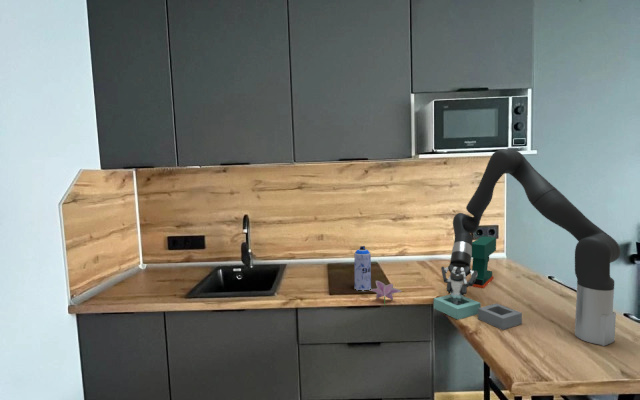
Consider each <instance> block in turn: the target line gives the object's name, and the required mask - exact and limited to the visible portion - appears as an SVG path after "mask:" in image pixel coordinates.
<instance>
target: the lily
mask: <svg viewBox="0 0 640 400" xmlns="http://www.w3.org/2000/svg"><path fill="white" fill-rule="evenodd" d="M375 284H376V288H371V290H369V291H371V292H374V293H376V296H375V297H376V299H379V298H383V300H384V301H383V303H384V307H385V306H386V297H387V298H388V299H390V300H393V301H394V296H393V294H399V293H402V292H403V291H402V290H401V289H399V288H395V287H394V284H393V283H389V284H385V283H383V282H382V281H380V280H375Z"/></svg>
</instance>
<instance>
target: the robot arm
mask: <svg viewBox="0 0 640 400" xmlns="http://www.w3.org/2000/svg"><path fill="white" fill-rule="evenodd" d="M505 174H506V175H507V174H509V175H510V176H512V177H513V178H514V179H515V180H516V181H517V182H518V183H519V184H520V185H521V186H522V188H523V189H524V192H525V195H526V198H527V199H528V201H529V203H530V204H531V205H532V206H533V208H534V209H536V210H537V212H538V213H540V215H542V216H543V217H544V218H545V219H547V220H548V221H550V222H551V223H553V224H555V225H556V226H558V227H560V228H562V229H564V230H565V231H567V232H568V233H569V234H570V235H572V236H573V238H575V239H576V240H577V243H576V245H575V250H574V274H575V276H576V299H575V301H576V302H575V321H574V323H575V325H574V335H575V337H577V339H579V340H582V341H585V342H587V343H590V344H594V345H599V346H603V347H605V346H608V345H610V344H612V343H614V342H615V338H616V337H615V336H616V317H617V312H615V311H614V294H615V280H614V278H612V277H611V263H614V262H615V261H617V260H618V259H619V258H620V256H621V247H620V245H619V243H618V242H617V241H616V240H615V238H613V237H612V236H611V235H610V234H608V233H606V231H604V230H602V229H601V228H600V227H599V226H598V225H596V224H595V223H594V222H592V221H591V220H590V219H589V218H588V217H587V216H585V215H584V213H583V212H582V211H581V210H579V208H577V207H576V206H575V205H574V204H573V203H572V202H571V201H570V200H569V199H568V198H567V197H566V196H565V195H564V194H563V193H562V192H561V191H560V190H558V189H557V188H556V187H555V185H553V184H552V183H550V182H549V181H548V180H547V179H546V178H545V177H544V176H543V175H542V174H540V173H539V172H538V171H537V170H536V169H535V167H533V166H532V164H531V163H530V162H529V161H528V160H527V158H526V157H525V156H524V155H523V154H522V153H521V152H520V151H518V150H516V149H498V150H496V151H495V152H493V153H492V154H491V156H490V158H489V159H488V162H487V165H486V168H485V170H484V173H483V175H482V177H481V180H480V182H479V184H478V186H477V188H476V189H475V191H474V194H473V195H472V197H470V200H469V201H468V202H467V205H466V207H465V210H466V211H467V212H468V214H470V215H468V214H466V213H463V212H458V213H456V214H455V215H454V217H453V219H452V227H453V232H454V233H453V234H454V241H453V246H452V250H451V256H450V262H449V265H448V266H446V267H445V266H441V267H440V271H441V274H442V281H443V283H445V284H446V292H447V293H448V294H451V279H450V276H449V277H448V278H447V275H446V274H447V273H448V271H449V274H450V273H451V272H460V273H463V274H464V280H463V287H462V295H463V296H464V297H465V295H466V294H467V290H468V287H472V286H473V284H474V282H475V280H476V278H477V276H478V273H477V271H472V268H471V262H472V258H471V257H472V242H474V240H473V238H474V237H473V235H472V234H475V233H476V232H477V231H478V229H479V227H480V223H481V219H482V217H483V214H484V213H485V211H486V209H487V208H488V206H489V205H490V203H491V201H492V199H493V196H494V190H495V188H496V187H495V186H496V185H497V183H498V181H499V180H500V179H501V178H502V177H503V176H504V175H505ZM471 215H472V216H471ZM469 275H470V276H471V277H469V278H470V279H469V281H467V277H468V276H469Z"/></svg>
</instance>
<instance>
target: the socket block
mask: <svg viewBox="0 0 640 400" xmlns="http://www.w3.org/2000/svg"><path fill="white" fill-rule="evenodd" d="M477 320H479V321H482V322H483V323H486V324H488V325H491V326H493V327H495V328H498V329H500V330H502V331H504V330H507V329H510V328H513V327H516V326H519V325H522V324H523V313H522V312H520V311H519V310H515V309H513V308H510V307H508V306H505V305H502V304H499V303H497V302H496V303H493V304H488V305H485V306H481V308H478V314H477Z"/></svg>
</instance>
